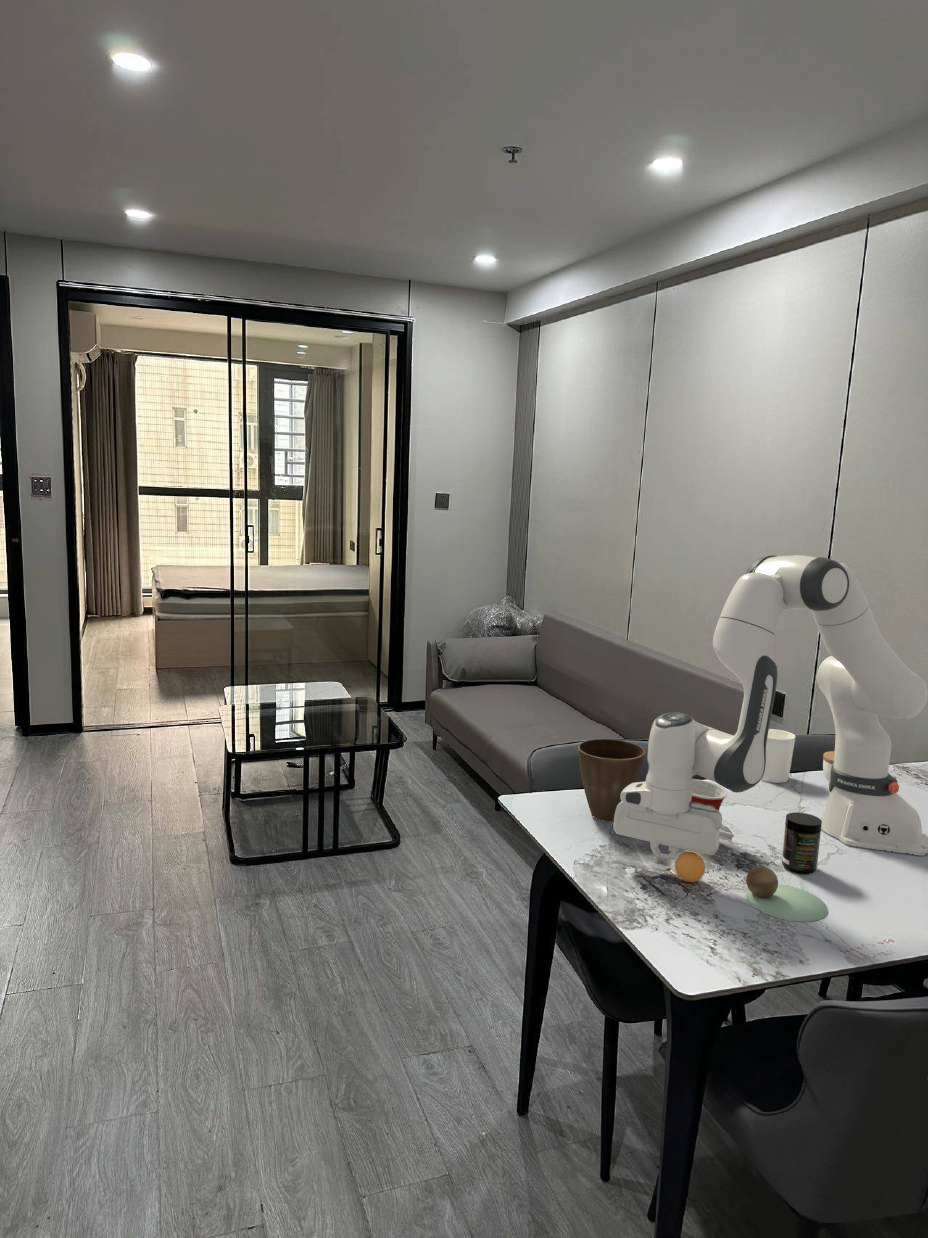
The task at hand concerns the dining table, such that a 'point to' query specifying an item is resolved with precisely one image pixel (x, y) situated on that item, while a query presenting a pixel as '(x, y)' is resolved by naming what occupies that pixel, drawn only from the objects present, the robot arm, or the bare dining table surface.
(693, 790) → the plastic cup
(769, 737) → the white tapered cylinder
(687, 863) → the orange ball
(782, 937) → the dining table surface
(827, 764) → the lidded jar
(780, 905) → the sage mark
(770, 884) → the walnut ball
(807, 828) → the supplement container
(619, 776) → the plant pot
